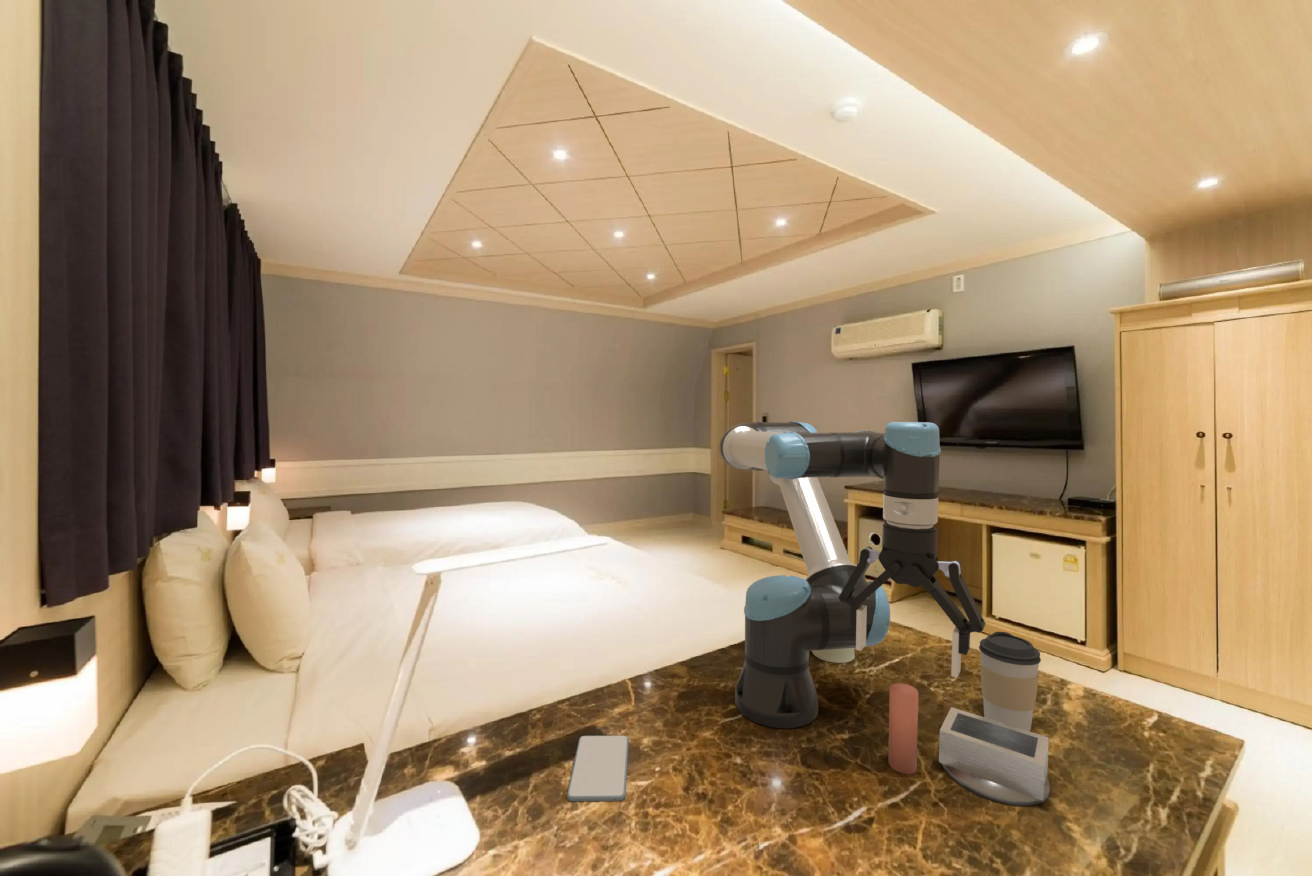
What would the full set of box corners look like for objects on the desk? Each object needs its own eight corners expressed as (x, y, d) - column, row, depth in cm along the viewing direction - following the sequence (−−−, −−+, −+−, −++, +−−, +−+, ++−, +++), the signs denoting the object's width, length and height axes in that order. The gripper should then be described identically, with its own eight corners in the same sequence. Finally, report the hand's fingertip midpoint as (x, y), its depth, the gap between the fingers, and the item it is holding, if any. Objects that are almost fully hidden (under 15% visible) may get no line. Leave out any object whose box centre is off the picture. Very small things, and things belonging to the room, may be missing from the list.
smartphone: (628, 734, 90) (625, 796, 75) (628, 740, 90) (625, 803, 75) (579, 735, 90) (565, 797, 75) (579, 740, 90) (565, 804, 75)
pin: (885, 766, 82) (886, 690, 82) (892, 753, 86) (894, 680, 85) (912, 777, 80) (914, 699, 79) (919, 764, 83) (921, 688, 82)
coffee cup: (1049, 741, 89) (1052, 652, 88) (989, 734, 91) (991, 648, 90) (1023, 711, 98) (1025, 630, 97) (969, 706, 100) (971, 627, 99)
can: (813, 660, 118) (814, 607, 117) (810, 643, 127) (811, 593, 126) (857, 665, 116) (858, 610, 115) (851, 647, 125) (852, 596, 124)
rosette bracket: (930, 776, 80) (931, 737, 80) (950, 733, 91) (951, 699, 91) (1045, 821, 71) (1047, 778, 71) (1052, 768, 82) (1053, 730, 82)
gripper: (820, 516, 86) (817, 645, 87) (1004, 540, 70) (998, 697, 72) (836, 510, 92) (834, 630, 93) (1010, 530, 76) (1004, 675, 77)
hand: (905, 660), depth 82 cm, fingers open, 13 cm apart
